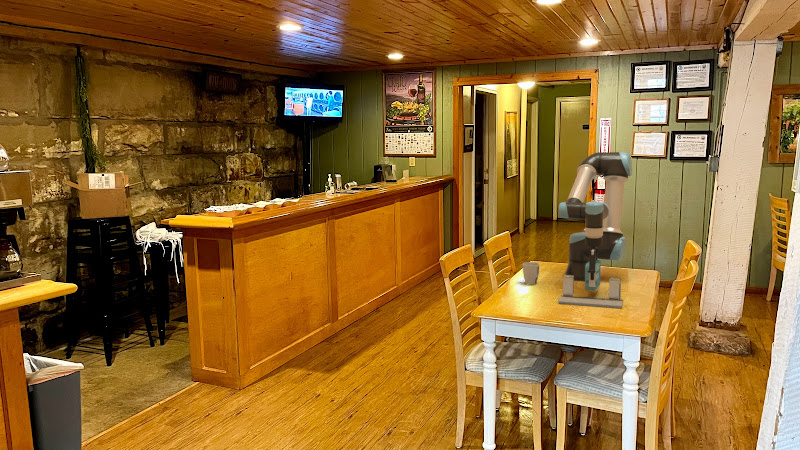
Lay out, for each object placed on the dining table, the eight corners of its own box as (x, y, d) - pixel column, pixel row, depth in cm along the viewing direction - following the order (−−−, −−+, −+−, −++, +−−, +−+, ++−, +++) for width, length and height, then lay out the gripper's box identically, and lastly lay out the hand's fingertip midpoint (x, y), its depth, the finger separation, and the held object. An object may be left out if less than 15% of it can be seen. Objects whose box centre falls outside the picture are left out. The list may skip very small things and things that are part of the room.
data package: (595, 291, 268) (595, 265, 266) (584, 290, 270) (585, 264, 268) (600, 284, 278) (600, 259, 276) (590, 283, 280) (590, 258, 278)
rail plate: (561, 297, 272) (561, 273, 270) (622, 302, 262) (623, 276, 261) (558, 303, 263) (558, 278, 261) (622, 308, 253) (622, 282, 251)
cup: (539, 285, 293) (540, 265, 292) (522, 285, 294) (522, 265, 293) (538, 281, 301) (538, 262, 300) (522, 281, 302) (522, 262, 301)
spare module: (610, 297, 270) (611, 279, 268) (620, 298, 268) (621, 280, 267) (610, 300, 265) (611, 282, 264) (620, 301, 264) (620, 282, 262)
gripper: (587, 231, 282) (586, 275, 286) (582, 241, 260) (582, 289, 264) (604, 231, 280) (603, 276, 284) (601, 242, 257) (600, 290, 261)
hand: (593, 282), depth 274 cm, fingers closed on data package, 12 cm apart
